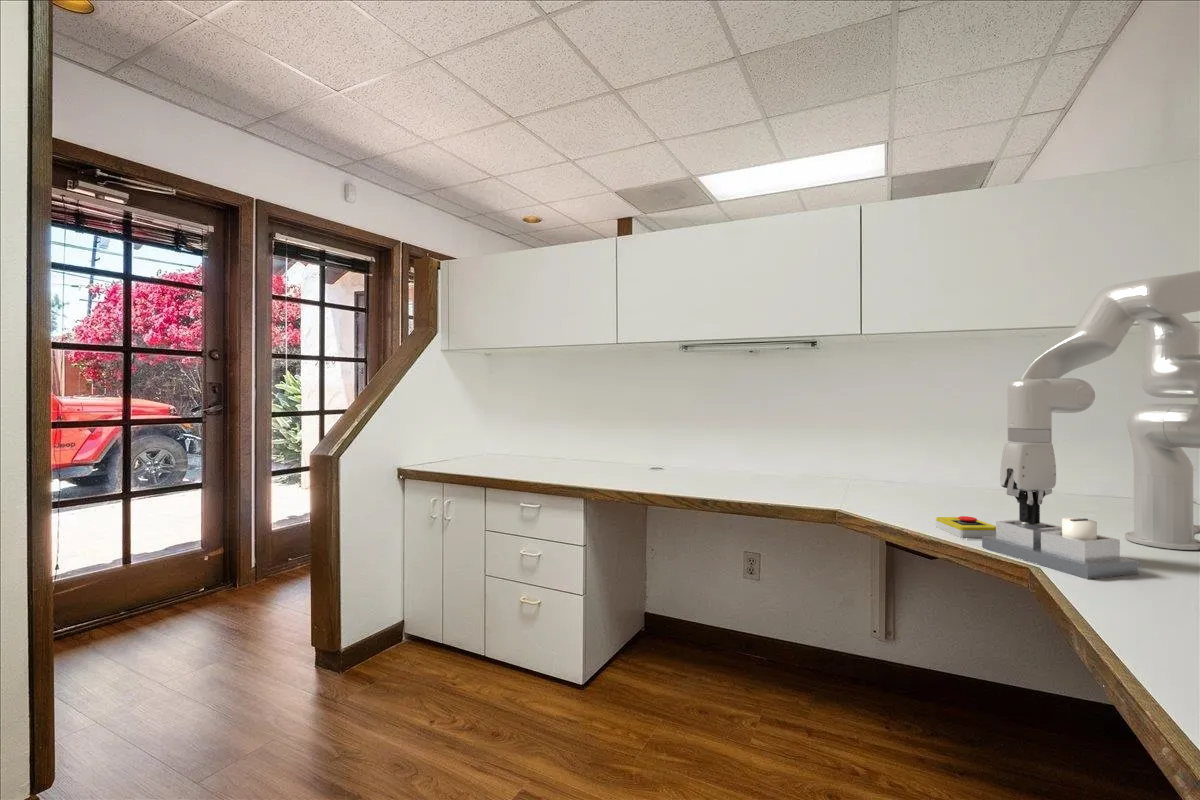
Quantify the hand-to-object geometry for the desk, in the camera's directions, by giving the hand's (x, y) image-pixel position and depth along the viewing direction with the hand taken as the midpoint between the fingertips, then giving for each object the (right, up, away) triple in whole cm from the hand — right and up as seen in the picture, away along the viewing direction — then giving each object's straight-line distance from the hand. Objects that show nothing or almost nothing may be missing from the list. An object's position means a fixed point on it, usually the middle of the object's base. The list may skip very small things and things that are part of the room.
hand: (1029, 522), depth 119 cm
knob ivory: (+2, -4, -10) cm, 11 cm away
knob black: (0, -6, 0) cm, 6 cm away
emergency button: (-2, -7, +19) cm, 20 cm away
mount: (+1, -7, -5) cm, 8 cm away
